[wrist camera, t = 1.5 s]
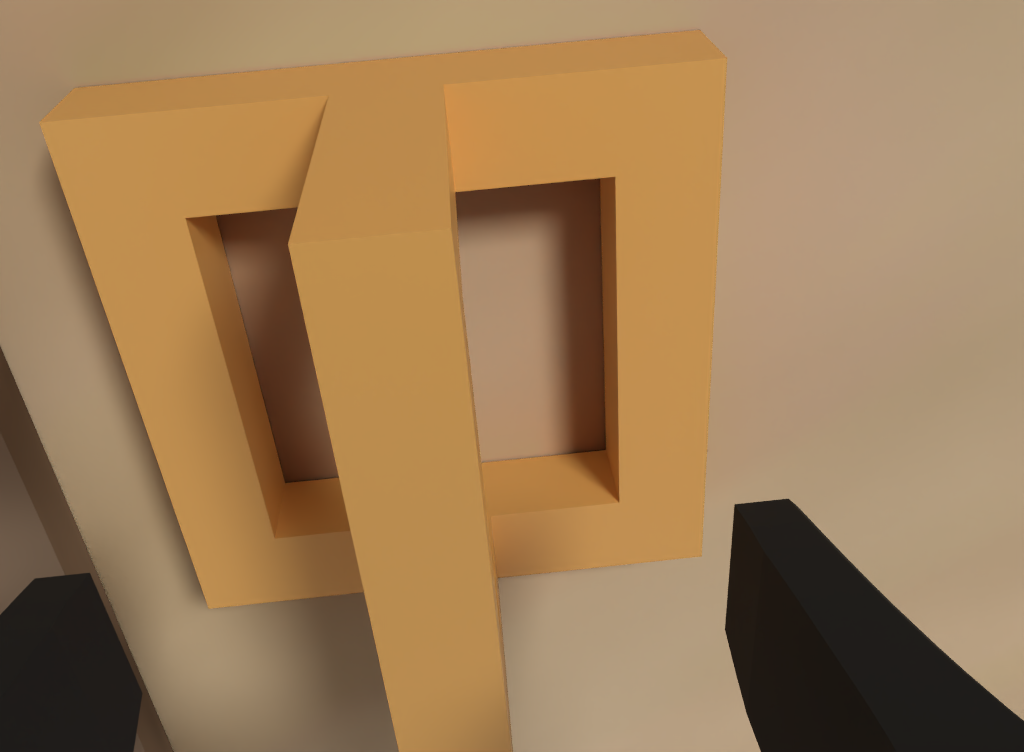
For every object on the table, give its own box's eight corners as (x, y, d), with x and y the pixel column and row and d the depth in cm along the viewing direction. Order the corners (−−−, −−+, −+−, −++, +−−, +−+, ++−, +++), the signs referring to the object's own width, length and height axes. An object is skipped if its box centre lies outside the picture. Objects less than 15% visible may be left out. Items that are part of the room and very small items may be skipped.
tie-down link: (683, 502, 19) (776, 774, 14) (222, 551, 19) (149, 845, 14) (699, 29, 14) (853, 189, 9) (74, 88, 14) (-127, 284, 9)
